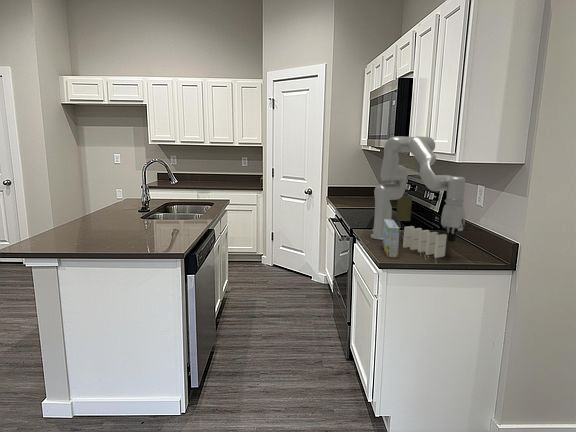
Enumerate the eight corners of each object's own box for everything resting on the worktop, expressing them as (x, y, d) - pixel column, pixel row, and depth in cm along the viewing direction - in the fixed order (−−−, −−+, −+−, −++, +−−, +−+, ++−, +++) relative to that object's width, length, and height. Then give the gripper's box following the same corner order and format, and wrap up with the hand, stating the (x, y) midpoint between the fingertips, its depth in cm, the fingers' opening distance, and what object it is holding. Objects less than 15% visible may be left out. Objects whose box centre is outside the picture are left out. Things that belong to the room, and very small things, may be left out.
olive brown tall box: (408, 221, 287) (410, 193, 283) (394, 219, 292) (396, 192, 288) (412, 219, 296) (414, 192, 292) (398, 217, 301) (400, 191, 297)
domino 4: (425, 254, 202) (427, 232, 200) (433, 252, 205) (435, 231, 203) (427, 255, 201) (429, 233, 199) (435, 253, 204) (437, 232, 202)
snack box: (381, 246, 216) (383, 218, 213) (391, 247, 215) (394, 219, 213) (386, 257, 195) (388, 227, 192) (398, 258, 195) (400, 227, 192)
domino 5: (444, 256, 200) (446, 234, 198) (436, 257, 197) (438, 235, 195) (442, 255, 201) (444, 234, 199) (434, 257, 198) (436, 235, 196)
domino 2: (410, 249, 211) (411, 228, 209) (418, 248, 214) (419, 227, 212) (412, 250, 210) (413, 229, 208) (420, 248, 213) (422, 228, 211)
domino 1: (402, 247, 215) (404, 227, 213) (410, 245, 218) (412, 226, 216) (404, 247, 214) (406, 227, 212) (412, 246, 217) (414, 226, 215)
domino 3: (417, 251, 207) (419, 230, 205) (425, 250, 210) (427, 229, 208) (419, 252, 206) (421, 231, 204) (427, 251, 208) (429, 230, 206)
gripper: (436, 201, 193) (433, 238, 196) (463, 205, 181) (459, 245, 184) (446, 200, 197) (443, 237, 200) (473, 204, 184) (470, 243, 187)
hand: (451, 241), depth 192 cm, fingers closed
